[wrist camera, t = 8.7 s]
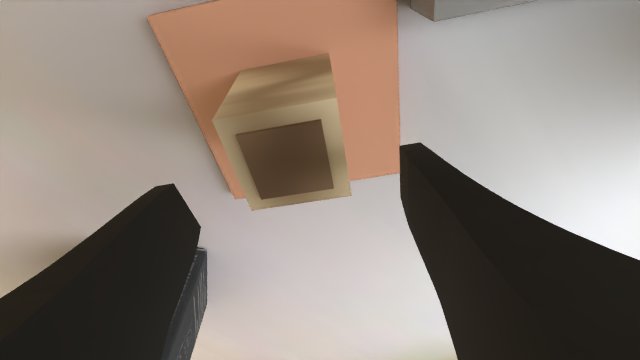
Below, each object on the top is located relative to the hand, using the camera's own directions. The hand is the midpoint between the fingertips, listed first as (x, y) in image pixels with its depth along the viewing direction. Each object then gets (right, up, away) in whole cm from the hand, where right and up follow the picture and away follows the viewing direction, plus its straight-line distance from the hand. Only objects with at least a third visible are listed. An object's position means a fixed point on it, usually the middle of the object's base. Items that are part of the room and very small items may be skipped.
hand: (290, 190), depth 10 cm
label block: (0, +4, +5) cm, 6 cm away
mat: (0, +4, +5) cm, 7 cm away
